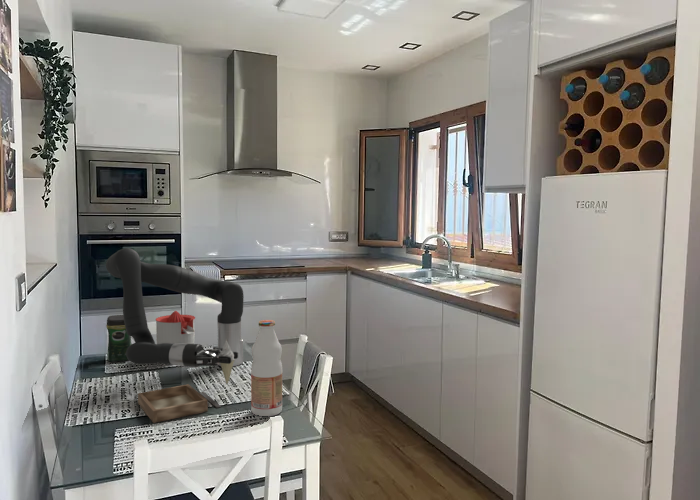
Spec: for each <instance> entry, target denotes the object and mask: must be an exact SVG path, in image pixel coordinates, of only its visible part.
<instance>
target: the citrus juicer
mask: <svg viewBox="0 0 700 500" xmlns="http://www.w3.org/2000/svg"><path fill="white" fill-rule="evenodd" d="M195 320H196V316H194V315H192V314H180V312H178V311H177V310H173V312H172V313H171V314H170V315H163V316H160V317H159V316H158V317H156V318H155V321H156V324H155V326H156V329H155V330H156V332H155V333H156V344H161V343H173V344H178V343H187V344H195V338H196V337H195V336H196V334H195V333H196V332H195V331H196V330H195V322H196V321H195Z"/></svg>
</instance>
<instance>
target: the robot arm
mask: <svg viewBox="0 0 700 500" xmlns="http://www.w3.org/2000/svg"><path fill="white" fill-rule="evenodd" d="M105 268H106V270H107V272H108V273H109V274H110V275H111V276H113V277H114V278H118V279H121V283H122V290H123V291H122V292H123V299H122V300H123V301H122V315H123V317H124V323H125V328H126V332H127V334H128V335H129V336H131V338H132V339H133V341H134V342H133V343H132V345H130V346H129V347H128V349H127V351H126V356H127V359H128V360H127V361H129V362H131V363H132V364H135V365H151V364H160V365H171V366H173V365H174V366H177V367H193V368H198V367H201V366H202V367H203V366H205V367H206V366H211V367H212V366H216V364H217V366H219V367H221V364H220V363H226V364H230V363H231V362H232V358H231V357H230V356H220V353H221V352H222V349H223V346H224V344H225V341H226V340H227V342H228V345H229V346H230V350H231V351H232V352H233V354H234V359H235V360H234V363H233V367H237V366H239V365H242V364H244V340H243V339H242V316H243V313H244V290H243V287H242V286H241V285H240V284H239V283H238V282H233V281H230V280H221V279H215V278H210V277H207V276H204V275H203V274H200V273H198V272H196V271H193V270H191V269H188V268H185V267H182V266H178V265H173V264H162V263H161V264H159V263H148V262H144V261H141V258H140V255H139V253H138V252H137V251H136V250H134V249H133V248H129V247H125V248H121V249H119V250H117V251H116V252H115V253H113V254H111V255H110V256H109V257H108V258H107V260H106V263H105ZM142 283H145V284H148V285H151V286H154V287H155V286H156V287H159V288H162V289H166V290H169V291H173V292H177V293H180V294H187V295H196V296H197V295H198V296H203V297H205V298H209V299H211V300H214V301H217V302H219V303H220V304H221V311H220V313H219V314H217V319H216V320H217V347H216V346H214V347H213V348H206V349H204V347H203V345H202V344H200V343H194V344H187V343H178V344H173V343H161V344H157V343H156V342H155V340H154V338H153V335H152V333H151V331H150V329H149V326H148V325H149V324H148V320H147V315H146V311H145V305H144V304H145V303H144V299H143V298H144V297H143V287H142V286H143V285H142Z"/></svg>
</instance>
